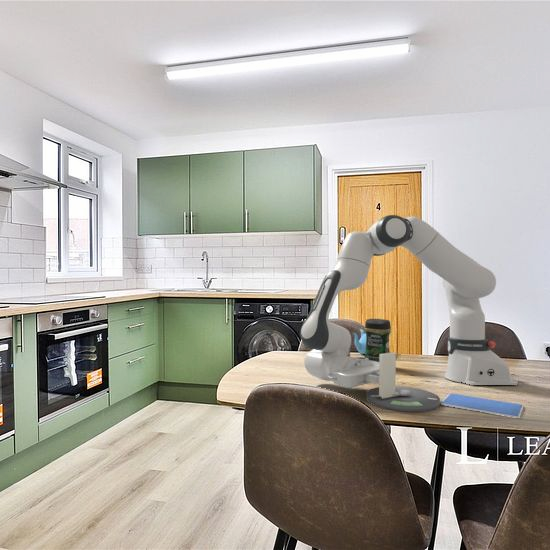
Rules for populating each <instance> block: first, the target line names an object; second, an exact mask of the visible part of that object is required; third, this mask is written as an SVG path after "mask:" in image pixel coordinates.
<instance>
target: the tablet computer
mask: <svg viewBox="0 0 550 550" xmlns="http://www.w3.org/2000/svg"><path fill="white" fill-rule="evenodd" d="M440 404H441V405H440V406H442V405H444V406H443V407H447V406H449V407H448V408H453V407H455V408H454V409H458V408H461V409H460V410H464V409H467V410H466V411H469V410H473V411H472V412H475V411H480V412H479V413H481V412H485V413H484V414H486V413H491V414H490V415H492V414H499V415H504V416H510V417H516V418H519V417H520V415H521V416H522V414H521V412H522V410H523V411H524V409H523V407H524V408H525V405H523V404H521V403H513V402H507V401H503V400H502V401H501V400H495V399H488V398H483V397H478V396H472V395H471V396H470V395H466V394H465V395H464V394H460V393H459V394H458V393H449V394H447V396H446V397H445V398H444V399H443V400H441V401H440ZM522 413H523V412H522ZM520 418H521V417H520Z"/></svg>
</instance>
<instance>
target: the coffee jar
mask: <svg viewBox="0 0 550 550" xmlns="http://www.w3.org/2000/svg"><path fill="white" fill-rule="evenodd" d="M364 323H365V324H364V333H365V334H366V350H365V355H364V357H365V358H368V359H369V360H370V361H376V362H379V354H385V353H391V352H390V334H391V333H392V332H391V331H392V328H391V327H392V325H391V321H390V320H389V319H382V318H369V319H366V320H365V322H364ZM390 332H391V333H390Z"/></svg>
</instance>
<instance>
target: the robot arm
mask: <svg viewBox="0 0 550 550" xmlns="http://www.w3.org/2000/svg"><path fill="white" fill-rule="evenodd" d="M399 246H401V247H403V248H405V249H407V250H408V251H409V252H410V253H411V254H412V255H413V256H414V257H415V258H416V259H417V260H418V261H420V262H421V263H422V264H423V265H424V266H425V267H426V268H427V269H428V270H429V271H431V272H432V273H434V274H436V275H438V276H439V277H440V278H442V285H443V287H444V289H445V294H446V295H445V296H446V302H447V306H448V312H449V336H448V338H447V351H448V358H447V364H446V369H445V373H444V378H445V379H447V380H450V381H453V382H457V383H461V382H462V383H461V384H465V383H466V385H469V384H470V385H469V386H473V385H516V386H518V385H517V384H519V383H518V379H517V378H516V377H513V376H511V372H510V367H509V365H508V363H507V362H506V361H505V360H503V359H502V358H501V357H500V356H498V354H496V353H495V352H493V351H492V350H491V349H494V348H495V347H496V345H497V343H496V342H494V341H493V340H491V341H490V340H488V339H486V316H485V313H484V311H483V309H482V306H481V303H480V302H481V301H480V299H481V298H485V297H487V296H490V294H492V293H493V292H494V290H495V289H496V286H497V278H496V275H495V274H494V273H493V272H492V271H491V270H490V269H488V268H487V267H485V266H482V264H480V263H478V262H477V261H475V260H474V258H472V257H470V256H468V254H465V253H464V252H462V251H461V250H459V249H458V248H457V247H455V246H454V245H453V244H452V243H451V242H449V240H448V239H446V238H445V237H444V236H443V235H442V234H441V233H440V232H439V231H437V229H435V228H434V227H432V226H431V225H430V224H429V223H427V222H426V221H424V220H423V219H422V218H419V217H417V216H414V215H413V216H407V217H406V218H404V217H402V216H400V215H397V214H389V215H386V216H383V217H382V218H380V219H379V220H377V221H376V222H374V223H373V224H372V225H371V227H369V228H368V229H367V230H366V231H365V232H364V231H359V230H357V231H356V230H355V231H351V232H349V233H347V235H345V238H344V240H343V242H342V245H341V247H340V250H339V252H338V255H337V259H336V262H335V265H334V267H333V268H332V270H330V271H329V272H328V273H326V275H325V276H324V278H323V280H322V282H321V284H320V287H319V289H318V291H317V294H316V296H315V299H314V301H313V303H312V306H311V308H310V309H309V310H310V311H309V313H308V315H307V317H305V320H304V321H303V322H302V325H301V327H300V331H299V333H300V334H299V335H300V340H301V342H302V344H303V346H304V347H305V348H307V349H309V350H310V351H308V352H307V353H306V354H305V356H304V361H303V365H304V368H305V370H306V371H307V373H309V375H311V376H312V377H315V378H317V379H319V380H322V381H327V382H330V381H332V383H333V384H334V385H337V386H340V387H342V388H347V389H352V388H356V387H360V386H364V385H366V384H370V383H371V384H379V362H376V361H370V360H369V359H368V358H365V356H362V357H355V356H351V355H350V356H348V354H349V351H350V352H351V346H352V343H353V342H352V340H353V337H352V334H351V332H350V330H349V329H348V328H346V327H344V326H342V325H338V324H337V323H336V324H335V323H334V322H331V321H329V316H330V313H331V311H332V308H333V305H334V303H335V301H336V298H337V296H338V295H339V293H341V292H344V291H352V290H356V289H359V288H360V287H361V286H363V285H364V284H365V282H366V281H367V278H368V275H369V271H370V268H371V263H372V262H371V261H372V258H373V257H374V256H375V257H380V256H383V255H386V254H388V253H390V252H393V251H394V250H395V249H396V248H398V247H399Z"/></svg>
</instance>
